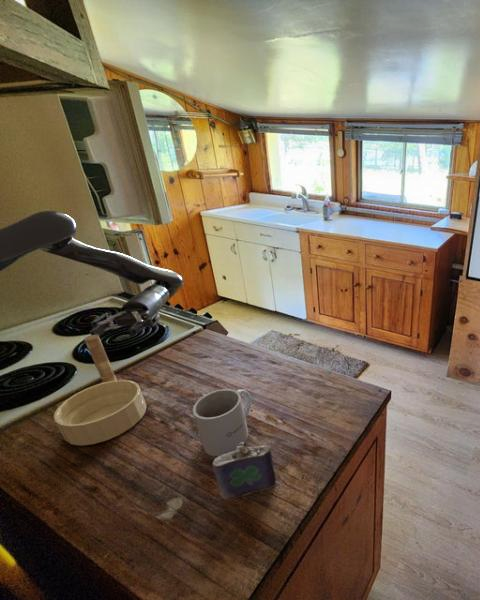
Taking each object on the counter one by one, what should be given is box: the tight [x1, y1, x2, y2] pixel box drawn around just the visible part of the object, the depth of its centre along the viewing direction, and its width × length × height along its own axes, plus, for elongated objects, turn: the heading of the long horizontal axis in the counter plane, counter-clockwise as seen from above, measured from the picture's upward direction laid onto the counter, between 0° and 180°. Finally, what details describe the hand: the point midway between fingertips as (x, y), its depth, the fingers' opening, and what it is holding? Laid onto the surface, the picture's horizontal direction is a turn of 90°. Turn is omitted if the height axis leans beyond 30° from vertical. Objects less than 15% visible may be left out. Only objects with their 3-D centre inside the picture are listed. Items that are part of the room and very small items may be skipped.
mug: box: [192, 388, 252, 457], centre depth 69 cm, size 12×9×10 cm
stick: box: [84, 334, 123, 384], centre depth 80 cm, size 4×4×15 cm
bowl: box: [53, 379, 147, 447], centre depth 71 cm, size 14×14×6 cm
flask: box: [212, 442, 277, 501], centre depth 58 cm, size 9×3×11 cm, turn 110°
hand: (112, 334), depth 84 cm, fingers open, 8 cm apart
